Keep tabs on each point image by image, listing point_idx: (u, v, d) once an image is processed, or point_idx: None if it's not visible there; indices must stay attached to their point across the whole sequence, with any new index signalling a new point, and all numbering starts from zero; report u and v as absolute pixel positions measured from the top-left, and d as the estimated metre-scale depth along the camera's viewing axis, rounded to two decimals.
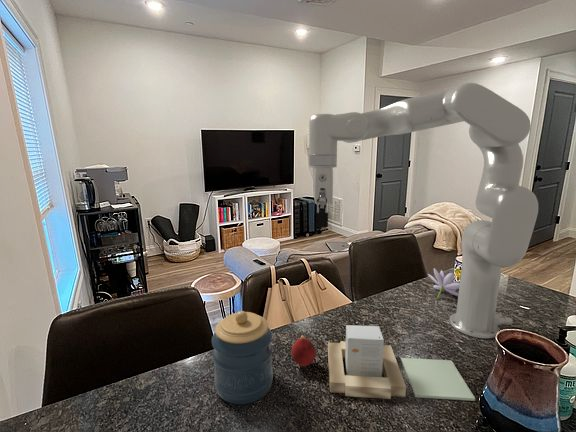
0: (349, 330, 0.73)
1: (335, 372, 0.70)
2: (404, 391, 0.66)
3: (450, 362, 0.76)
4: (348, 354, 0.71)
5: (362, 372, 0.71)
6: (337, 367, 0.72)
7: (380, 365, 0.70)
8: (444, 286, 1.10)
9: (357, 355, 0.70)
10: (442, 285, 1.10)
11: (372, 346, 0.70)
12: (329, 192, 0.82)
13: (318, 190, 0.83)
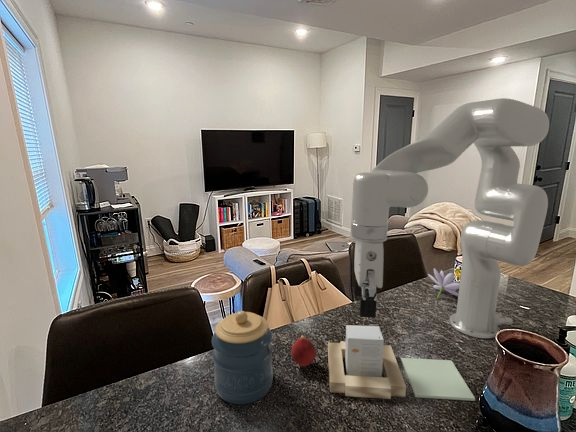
0: (349, 330, 0.73)
1: (335, 372, 0.70)
2: (404, 391, 0.66)
3: (450, 362, 0.76)
4: (348, 354, 0.71)
5: (362, 372, 0.71)
6: (337, 367, 0.72)
7: (380, 365, 0.70)
8: (444, 286, 1.10)
9: (357, 355, 0.70)
10: (442, 285, 1.10)
11: (372, 346, 0.70)
12: (379, 274, 0.64)
13: (365, 271, 0.64)
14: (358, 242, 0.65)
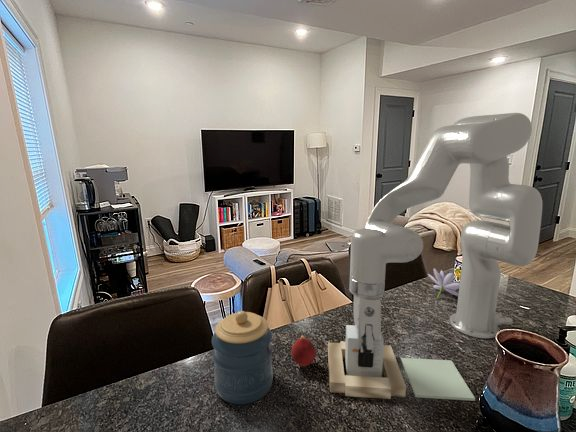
0: (349, 330, 0.73)
1: (335, 372, 0.70)
2: (404, 391, 0.66)
3: (450, 362, 0.76)
4: (348, 354, 0.71)
5: (362, 371, 0.71)
6: (337, 367, 0.72)
7: (380, 365, 0.70)
8: (444, 286, 1.10)
9: (357, 355, 0.70)
10: (442, 285, 1.10)
11: None
12: (377, 329, 0.66)
13: (363, 326, 0.66)
14: (356, 297, 0.68)
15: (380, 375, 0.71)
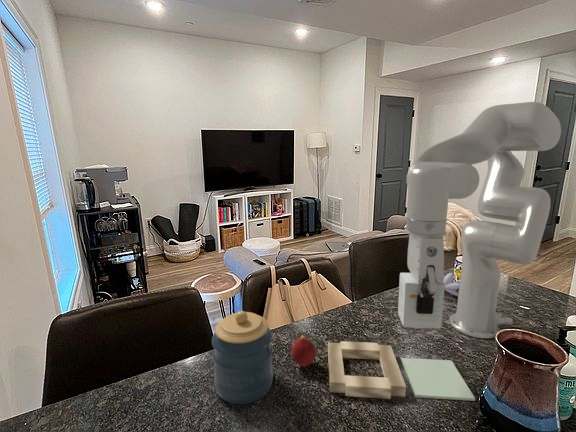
0: (404, 276, 0.68)
1: (335, 372, 0.70)
2: (404, 391, 0.66)
3: (450, 362, 0.76)
4: (405, 300, 0.66)
5: (420, 319, 0.67)
6: (337, 367, 0.72)
7: (440, 312, 0.66)
8: None
9: (415, 301, 0.66)
10: None
11: None
12: (440, 270, 0.62)
13: (425, 267, 0.62)
14: (416, 237, 0.64)
15: (440, 323, 0.67)
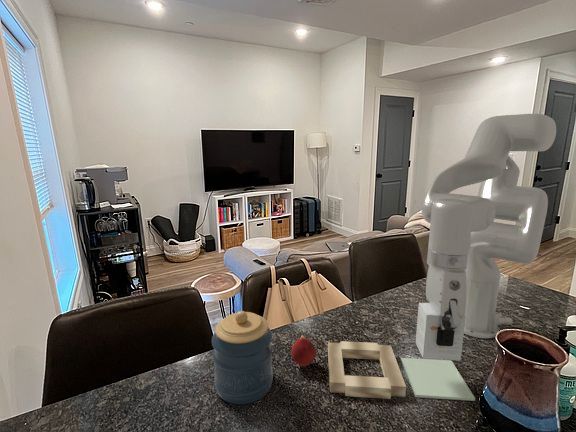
0: (424, 307, 0.69)
1: (335, 372, 0.70)
2: (404, 391, 0.66)
3: (450, 362, 0.76)
4: (426, 332, 0.67)
5: (439, 351, 0.67)
6: (337, 367, 0.72)
7: (460, 344, 0.66)
8: None
9: (436, 333, 0.66)
10: None
11: None
12: (462, 304, 0.62)
13: (447, 301, 0.62)
14: (438, 270, 0.64)
15: (459, 355, 0.67)
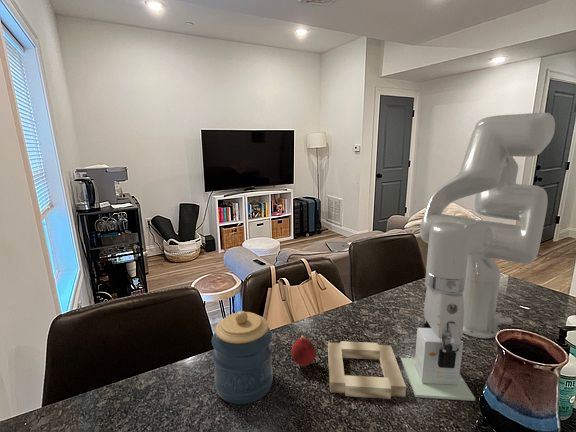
0: (423, 333, 0.70)
1: (335, 372, 0.70)
2: (404, 391, 0.66)
3: None
4: (424, 358, 0.68)
5: (438, 376, 0.69)
6: (337, 367, 0.72)
7: (458, 369, 0.68)
8: None
9: (434, 359, 0.68)
10: None
11: None
12: (460, 326, 0.63)
13: (445, 324, 0.64)
14: (436, 293, 0.65)
15: (457, 379, 0.69)
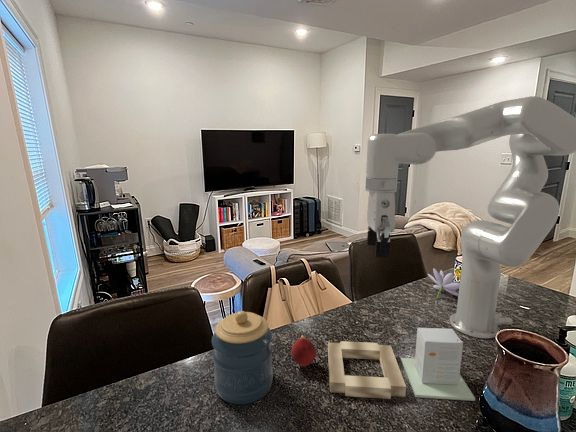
0: (423, 333, 0.70)
1: (335, 372, 0.70)
2: (404, 391, 0.66)
3: None
4: (424, 358, 0.68)
5: (438, 376, 0.69)
6: (337, 367, 0.72)
7: (458, 369, 0.68)
8: (444, 286, 1.10)
9: (434, 359, 0.68)
10: (442, 285, 1.10)
11: (450, 350, 0.67)
12: (392, 219, 0.75)
13: (380, 217, 0.75)
14: (373, 193, 0.77)
15: (457, 379, 0.69)
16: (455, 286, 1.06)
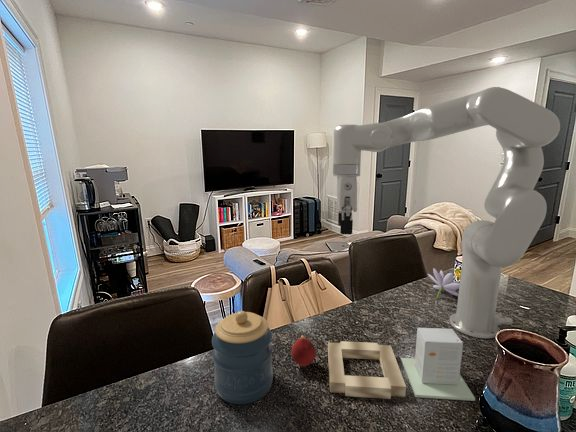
0: (423, 333, 0.70)
1: (335, 372, 0.70)
2: (404, 391, 0.66)
3: None
4: (424, 358, 0.68)
5: (438, 376, 0.69)
6: (337, 367, 0.72)
7: (458, 369, 0.68)
8: (443, 286, 1.10)
9: (434, 359, 0.68)
10: (441, 285, 1.10)
11: (450, 350, 0.67)
12: (354, 200, 0.85)
13: (343, 198, 0.85)
14: (338, 178, 0.87)
15: (457, 379, 0.69)
16: (455, 286, 1.06)
